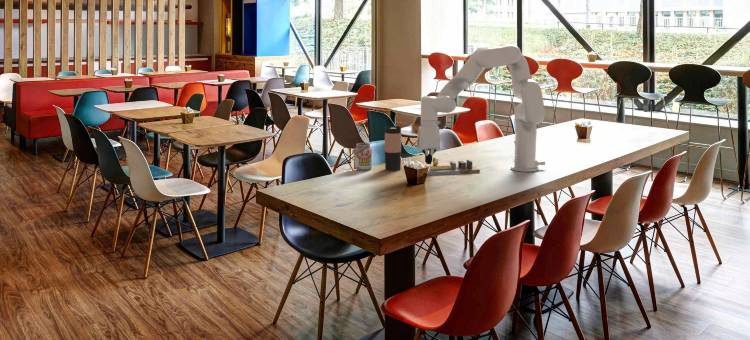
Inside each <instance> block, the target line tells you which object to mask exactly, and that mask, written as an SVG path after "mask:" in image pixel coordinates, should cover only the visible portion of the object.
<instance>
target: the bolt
mask: <svg viewBox="0 0 750 340" xmlns="http://www.w3.org/2000/svg"><path fill="white" fill-rule="evenodd" d="M429 168H430V170H438V169H453V164H450V163H449V164H439V157H432V164H429Z"/></svg>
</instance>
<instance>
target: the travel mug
mask: <svg viewBox="0 0 750 340" xmlns="http://www.w3.org/2000/svg"><path fill="white" fill-rule="evenodd" d="M401 160H402V127H401V126H396V125H394V126H393V125H392V126H385V127H384V164H385V165H384V167H385V171H388V172H397V170H398V171H400V170H401V168H402V167H401V164H402V163H401V162H402V161H401Z"/></svg>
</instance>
